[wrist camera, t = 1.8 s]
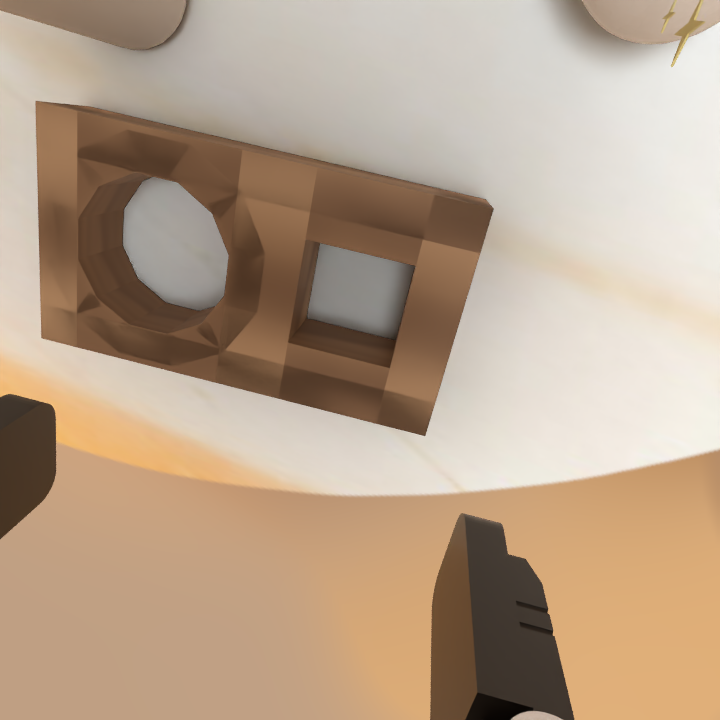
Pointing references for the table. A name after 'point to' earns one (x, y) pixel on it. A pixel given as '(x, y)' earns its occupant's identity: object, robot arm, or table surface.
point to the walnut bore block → (251, 264)
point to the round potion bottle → (655, 19)
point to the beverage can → (106, 18)
